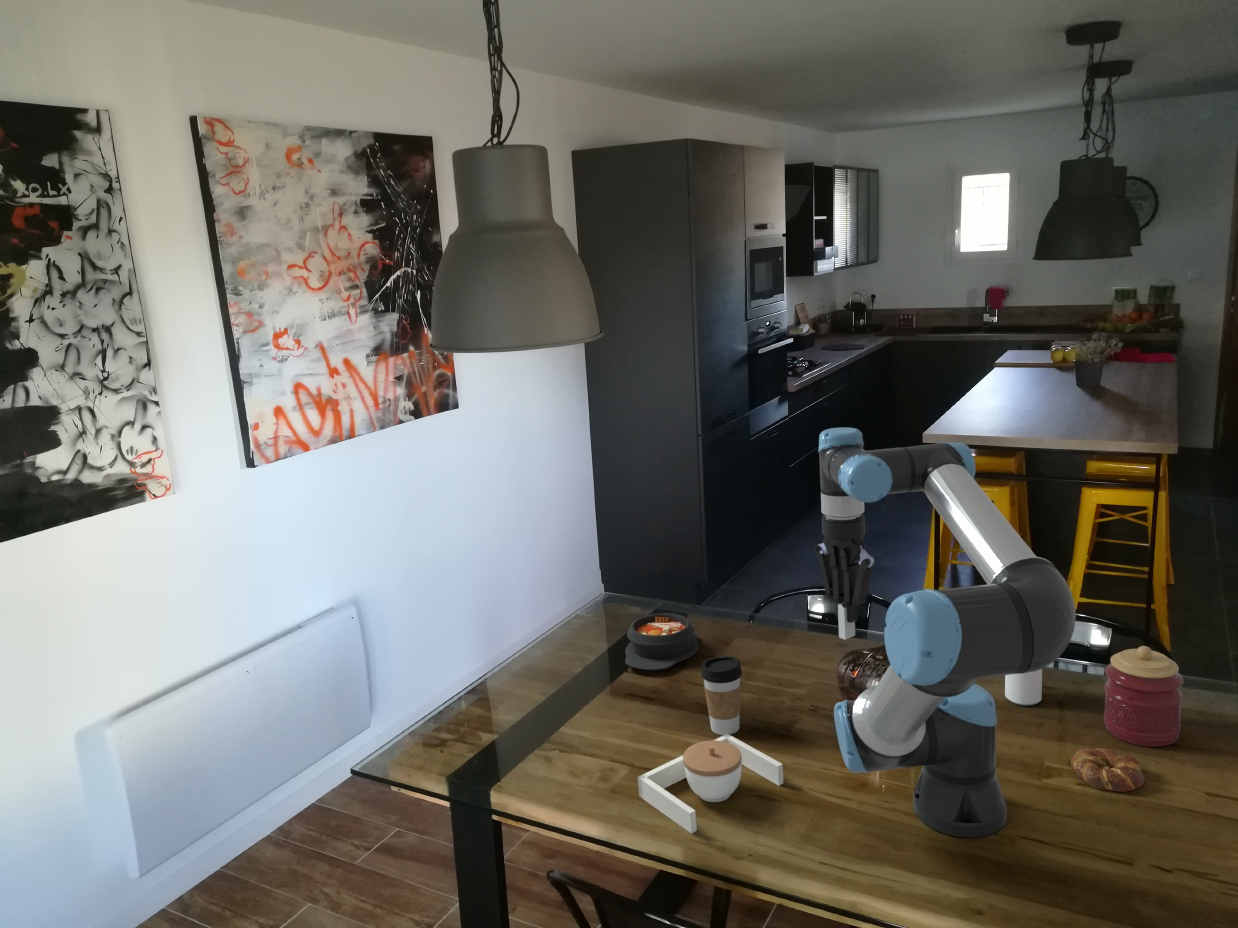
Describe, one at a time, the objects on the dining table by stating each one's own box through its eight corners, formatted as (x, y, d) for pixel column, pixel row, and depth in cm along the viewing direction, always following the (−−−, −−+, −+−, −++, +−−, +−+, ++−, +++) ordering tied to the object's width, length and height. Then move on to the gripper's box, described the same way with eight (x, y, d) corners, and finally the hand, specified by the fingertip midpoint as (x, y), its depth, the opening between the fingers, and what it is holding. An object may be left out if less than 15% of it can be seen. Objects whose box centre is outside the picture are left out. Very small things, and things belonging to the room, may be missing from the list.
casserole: (647, 631, 242) (645, 602, 240) (713, 638, 234) (711, 608, 232) (608, 672, 220) (605, 640, 218) (679, 681, 212) (676, 648, 210)
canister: (1187, 726, 175) (1192, 642, 171) (1171, 755, 166) (1175, 667, 162) (1113, 708, 184) (1116, 627, 180) (1094, 735, 174) (1097, 651, 171)
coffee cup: (744, 738, 184) (739, 671, 181) (703, 737, 186) (698, 671, 183) (746, 718, 192) (742, 653, 189) (707, 717, 194) (702, 653, 191)
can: (1024, 710, 186) (1025, 656, 183) (997, 696, 192) (997, 644, 189) (1049, 701, 188) (1050, 648, 186) (1021, 688, 195) (1022, 636, 192)
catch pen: (783, 783, 168) (782, 763, 167) (691, 833, 155) (689, 813, 155) (728, 751, 180) (727, 733, 179) (639, 796, 168) (637, 776, 167)
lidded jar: (728, 815, 160) (725, 768, 157) (675, 800, 165) (671, 755, 163) (753, 784, 168) (750, 738, 166) (701, 771, 174) (698, 727, 172)
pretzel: (1057, 775, 163) (1057, 756, 163) (1088, 752, 169) (1088, 735, 169) (1125, 803, 154) (1126, 783, 153) (1156, 778, 160) (1156, 759, 159)
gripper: (886, 515, 158) (889, 640, 163) (829, 503, 168) (833, 620, 173) (857, 525, 154) (861, 653, 159) (801, 512, 164) (806, 632, 169)
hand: (847, 636), depth 166 cm, fingers closed
